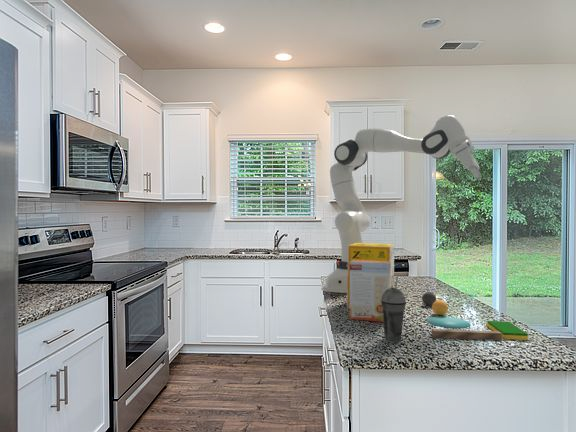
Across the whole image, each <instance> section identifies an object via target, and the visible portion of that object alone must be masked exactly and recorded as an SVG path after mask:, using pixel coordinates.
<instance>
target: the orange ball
mask: <svg viewBox="0 0 576 432" xmlns="http://www.w3.org/2000/svg"><path fill="white" fill-rule="evenodd" d="M431 308H432V311H433V313H434V314H436V315H437V316H443V315H446V314H447V312H448V310H449V307H448V304H447V302H446V301H444V300H441V299H436V301H435V302H434V303H433V305H432V306H431Z"/></svg>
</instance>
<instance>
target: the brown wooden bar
mask: <svg viewBox="0 0 576 432" xmlns="http://www.w3.org/2000/svg"><path fill="white" fill-rule="evenodd" d="M431 336H432V337H433V338H436V339H437V338H439V339H463V340H465V339H467V340H490V341H491V340H492V341H494V340H496V341H503V340H502V339H503V338H502V333H500V332H499V331H493V330H469V329H468V330H467V329H466V330H465V329H463V330H462V329H439V328H438V329H437V328H435V329H434V328H431Z"/></svg>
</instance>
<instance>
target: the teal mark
mask: <svg viewBox="0 0 576 432" xmlns="http://www.w3.org/2000/svg"><path fill="white" fill-rule="evenodd" d="M426 321H427V322H428V323H429V324H431V325H434V326H436V327H441V328H446V329H447V328H448V329H465V328H469V327H471V322H469V321H467V320H465V319H461V318H458V317H451V316H431V317H428V318H427V319H426Z"/></svg>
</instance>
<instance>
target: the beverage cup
mask: <svg viewBox="0 0 576 432" xmlns="http://www.w3.org/2000/svg"><path fill="white" fill-rule="evenodd" d="M395 277H396V278H395V283H394V288H390V289H387V290H386V291H385V292H384V293H383V295H382V300H381V302H382V308H383V320H384V322H383V331H384V332H383V334H384V340H385V341H386V342H389V343H392V344H393V343H395V344H397V343H401V342H402V341H401V340H402V335H403V326H404V325H403V324H404V316H405V315H404V314H405V309H406V304H407V301H406V296H405V295H404V292H402V291H401V290H400V289H399V288H398V287H397V286H398V279H399V273H396V276H395Z"/></svg>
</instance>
